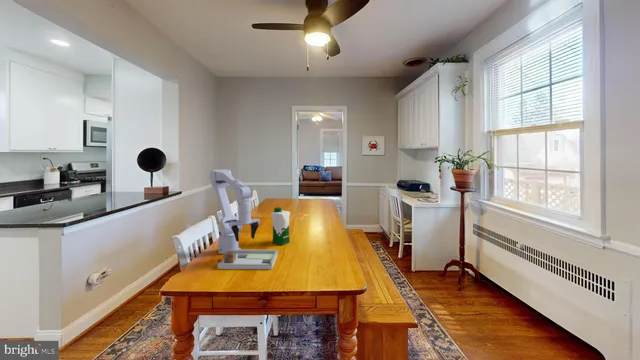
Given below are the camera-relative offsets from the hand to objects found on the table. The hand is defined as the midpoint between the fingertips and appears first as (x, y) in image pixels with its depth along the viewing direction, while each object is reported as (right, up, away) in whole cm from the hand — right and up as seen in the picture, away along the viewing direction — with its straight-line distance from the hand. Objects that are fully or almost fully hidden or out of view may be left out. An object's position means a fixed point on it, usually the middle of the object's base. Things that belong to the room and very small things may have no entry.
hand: (245, 239), depth 135 cm
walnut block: (-5, -9, -6) cm, 12 cm away
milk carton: (+14, -7, +25) cm, 30 cm away
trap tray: (+3, -10, -3) cm, 11 cm away
